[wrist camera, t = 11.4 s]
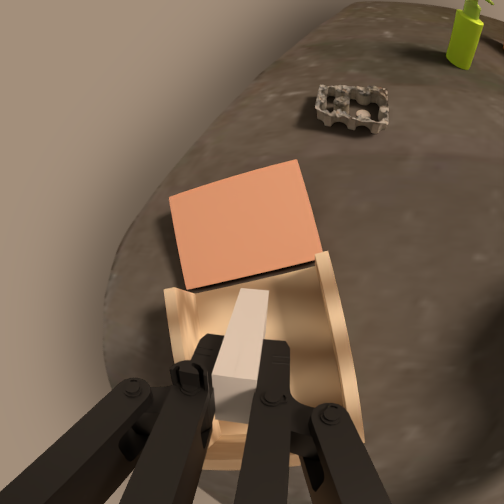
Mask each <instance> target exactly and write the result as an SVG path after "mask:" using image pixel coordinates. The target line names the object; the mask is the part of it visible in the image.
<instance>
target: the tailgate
mask: <svg viewBox="0 0 504 504" xmlns="http://www.w3.org/2000/svg"><path fill="white" fill-rule="evenodd" d="M169 201H170V207H171V213H172V219H173V224H174V230H175V235H176V241H177V246H178V251H179V256H180V261H181V266H182V271H183V276H184V280H185V285H186V289H187V290H188V289H193V288H198V287H202V286H207V285H211V284H216V283H220V282H224V281H229V280H233V279H237V278H242V277H246V276H250V275H255V274H259V273H263V272H267V271H272V270H276V269H280V268H284V267H288V266H292V265H297V264H301V263H305V262H309V261H313V260H315V254H317V253H321V252H323V251H322V247H321V243H320V239H319V235H318V231H317V227H316V224H315V220H314V216H313V213H312V209H311V205H310V202H309V198H308V195H307V191H306V188H305V184H304V181H303V178H302V174H301V171H300V168H299V165H298V161H297V159H296V160H292V161H288V162H284V163H280V164H276V165H272V166H268V167H265V168H261V169H257V170H254V171H250V172H247V173H243V174H240V175H236V176H233V177H229V178H226V179H223V180H220V181H216V182H213V183H210V184H207V185H204V186H201V187H197V188H194V189H191V190H188V191H185V192H182V193H180V194H177V195H174V196H171V197H169Z"/></svg>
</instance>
